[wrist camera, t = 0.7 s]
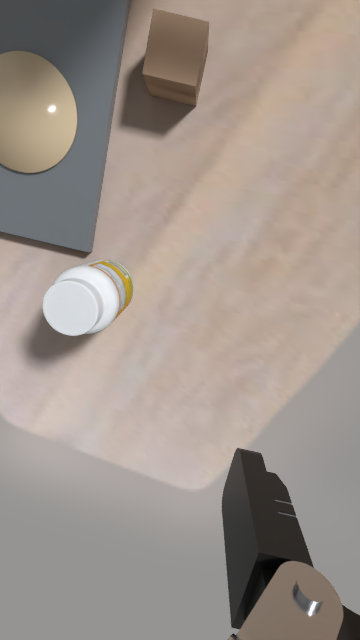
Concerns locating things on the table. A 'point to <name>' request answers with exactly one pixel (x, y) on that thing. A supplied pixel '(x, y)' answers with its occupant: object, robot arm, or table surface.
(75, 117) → the slate board
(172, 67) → the walnut block
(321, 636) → the robot arm
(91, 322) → the supplement bottle
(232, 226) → the table surface
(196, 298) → the table surface
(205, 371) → the table surface
